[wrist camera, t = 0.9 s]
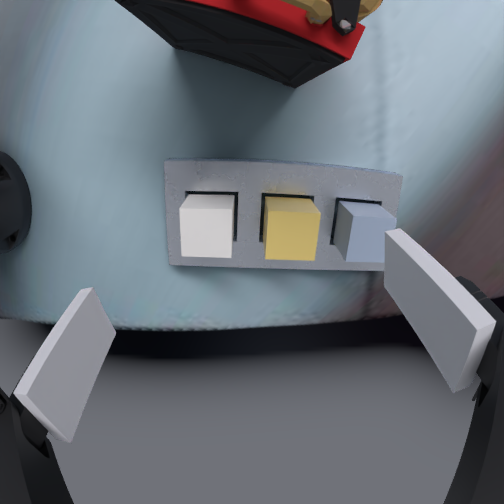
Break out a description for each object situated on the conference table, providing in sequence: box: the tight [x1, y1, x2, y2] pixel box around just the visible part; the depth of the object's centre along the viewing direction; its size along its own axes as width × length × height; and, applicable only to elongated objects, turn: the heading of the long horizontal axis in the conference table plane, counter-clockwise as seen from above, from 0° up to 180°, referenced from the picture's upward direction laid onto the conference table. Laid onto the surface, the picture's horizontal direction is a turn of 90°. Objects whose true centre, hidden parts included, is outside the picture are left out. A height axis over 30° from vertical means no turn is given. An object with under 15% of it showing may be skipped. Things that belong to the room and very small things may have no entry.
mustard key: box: [263, 196, 321, 261], centre depth 31 cm, size 5×5×5 cm
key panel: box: [164, 158, 403, 271], centre depth 34 cm, size 26×12×2 cm, turn 87°
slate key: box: [333, 201, 397, 263], centre depth 31 cm, size 5×5×5 cm
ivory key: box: [179, 194, 235, 258], centre depth 30 cm, size 5×5×5 cm
